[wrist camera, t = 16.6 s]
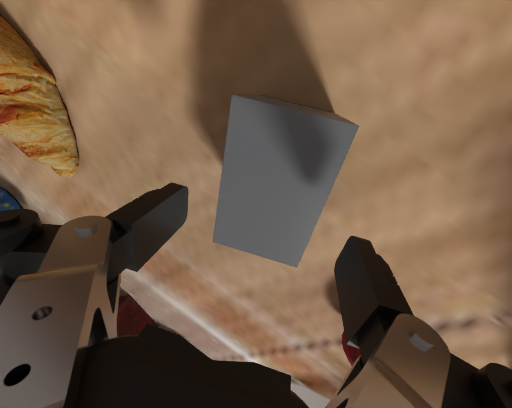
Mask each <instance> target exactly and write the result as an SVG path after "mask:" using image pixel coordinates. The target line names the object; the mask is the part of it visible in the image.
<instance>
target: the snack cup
mask: <svg viewBox="0 0 512 408" xmlns="http://www.w3.org/2000/svg"><path fill="white" fill-rule="evenodd" d="M11 209H21V207H20V206H19V204H18V203H17V202H16V201H15V199H14V198H13V197H12V196H10V195H9V194H8V193H7V192H6V191H5V190H3V189H0V211H4V210H11Z"/></svg>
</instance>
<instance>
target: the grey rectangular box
mask: <svg viewBox="0 0 512 408" xmlns="http://www.w3.org/2000/svg"><path fill="white" fill-rule="evenodd" d="M358 128H359V126H358V125H356V124H355V123H353V122H351V121H349V120H347V119H345V118H343V117H341V116H339V115H337V114H335V113H331V112H327V111H323V110H319V109H315V108H311V107H307V106H303V105H299V104H295V103H290V102H286V101H282V100H278V99H274V98H270V97H266V96H262V95H232V98H231V106H230V113H229V121H228V129H227V136H226V144H225V152H224V159H223V167H222V175H221V182H220V190H219V198H218V206H217V213H216V221H215V229H214V236H213V242H215V243H218V244H222V245H225V246H228V247H231V248H235V249H238V250H241V251H244V252H248V253H251V254H254V255H258V256H261V257H264V258H267V259H271V260H274V261H277V262H281V263H284V264H287V265H290V266H294V267H297V266H298V264H299V262H300V260H301V257H302V255H303V253H304V250H305V248H306V246H307V244H308V241H309V239H310V237H311V235H312V232H313V230H314V228H315V225H316V223H317V221H318V219H319V216H320V214H321V212H322V209H323V207H324V205H325V203H326V200H327V198H328V196H329V194H330V191H331V189H332V187H333V184H334V182H335V180H336V178H337V175H338V173H339V171H340V169H341V166H342V164H343V162H344V159H345V157H346V155H347V153H348V150H349V148H350V146H351V143H352V141H353V139H354V137H355V134H356V132H357V130H358Z"/></svg>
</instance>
